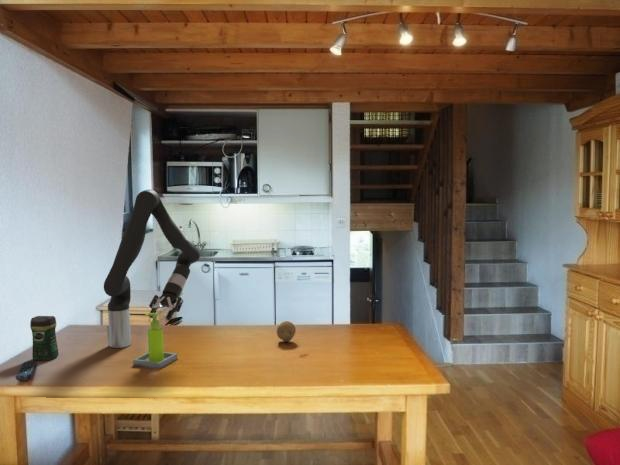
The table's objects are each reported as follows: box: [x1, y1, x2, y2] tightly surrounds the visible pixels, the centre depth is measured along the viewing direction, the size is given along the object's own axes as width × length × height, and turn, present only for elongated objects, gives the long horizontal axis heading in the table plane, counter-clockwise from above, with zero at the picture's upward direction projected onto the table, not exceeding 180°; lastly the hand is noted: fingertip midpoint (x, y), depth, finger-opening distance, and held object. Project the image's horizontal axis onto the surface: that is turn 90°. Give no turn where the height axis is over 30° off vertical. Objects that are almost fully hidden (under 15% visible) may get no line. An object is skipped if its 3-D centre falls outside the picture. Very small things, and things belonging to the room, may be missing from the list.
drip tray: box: [132, 351, 178, 370], centre depth 202 cm, size 13×12×2 cm
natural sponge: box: [276, 320, 297, 343], centre depth 225 cm, size 9×9×10 cm
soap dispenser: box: [143, 312, 165, 362], centre depth 201 cm, size 6×7×20 cm
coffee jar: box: [29, 315, 59, 361], centre depth 208 cm, size 10×8×19 cm
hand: (159, 318), depth 203 cm, fingers open, 8 cm apart
